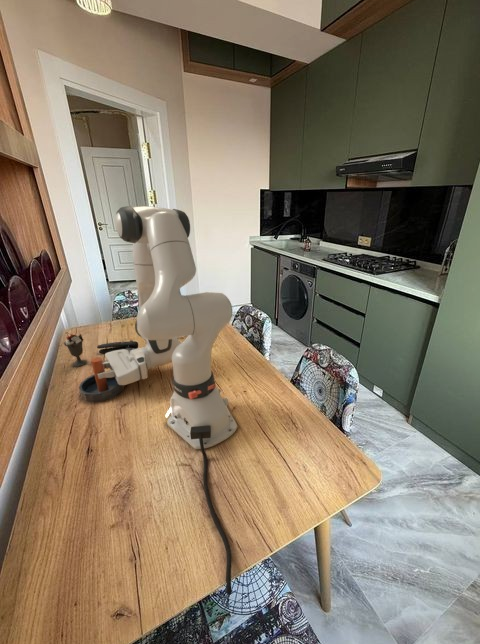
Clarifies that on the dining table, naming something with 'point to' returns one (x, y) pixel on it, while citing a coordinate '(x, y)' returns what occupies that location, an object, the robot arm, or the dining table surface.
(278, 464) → the dining table surface
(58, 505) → the dining table surface
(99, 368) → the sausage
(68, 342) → the sundae
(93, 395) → the dish
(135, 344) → the can opener
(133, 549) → the dining table surface
